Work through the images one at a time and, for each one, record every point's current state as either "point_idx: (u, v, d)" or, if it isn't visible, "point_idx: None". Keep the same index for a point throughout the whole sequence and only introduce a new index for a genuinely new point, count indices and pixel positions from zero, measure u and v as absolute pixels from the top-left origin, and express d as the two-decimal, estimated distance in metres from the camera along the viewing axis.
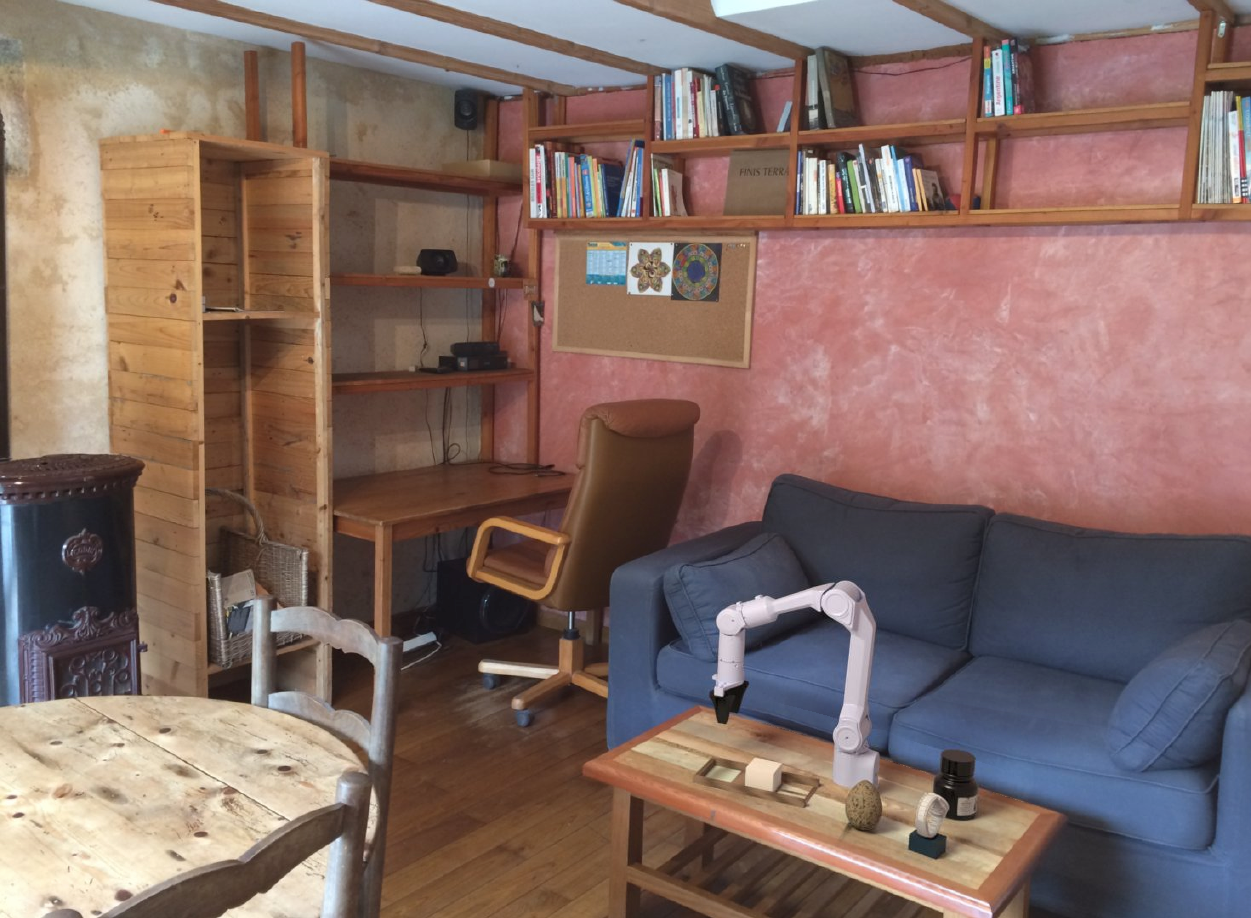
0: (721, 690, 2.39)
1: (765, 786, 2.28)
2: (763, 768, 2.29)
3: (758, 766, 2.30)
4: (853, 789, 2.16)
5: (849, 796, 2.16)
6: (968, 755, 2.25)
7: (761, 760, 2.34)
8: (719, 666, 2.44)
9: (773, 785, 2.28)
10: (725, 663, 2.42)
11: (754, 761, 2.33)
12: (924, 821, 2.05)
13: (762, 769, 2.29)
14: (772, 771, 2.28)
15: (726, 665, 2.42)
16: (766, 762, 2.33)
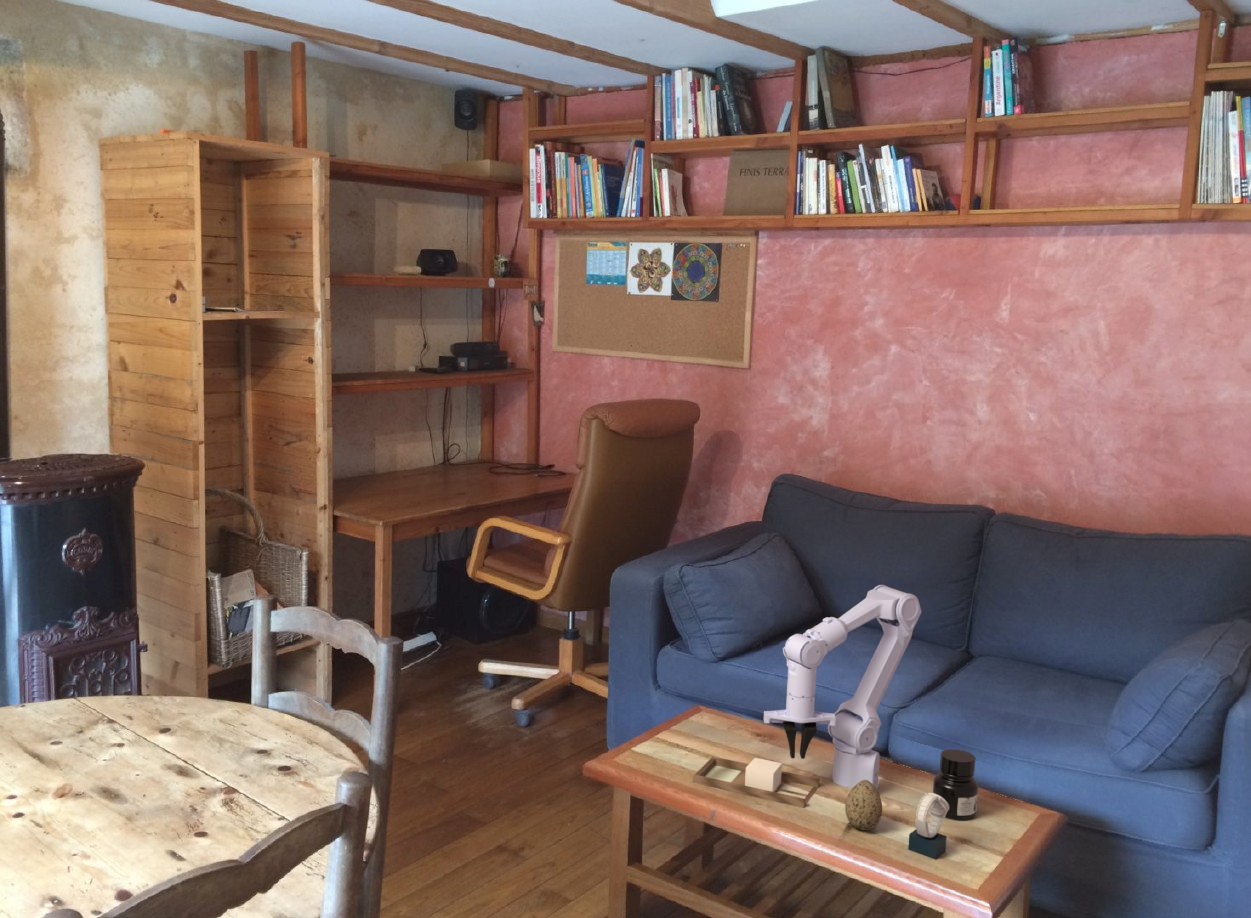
0: (764, 716, 2.26)
1: (765, 786, 2.28)
2: (763, 768, 2.29)
3: (758, 766, 2.30)
4: (853, 789, 2.16)
5: (849, 796, 2.16)
6: (968, 755, 2.25)
7: (761, 760, 2.34)
8: None
9: (773, 785, 2.28)
10: None
11: (754, 761, 2.33)
12: (924, 821, 2.05)
13: (762, 769, 2.29)
14: (772, 771, 2.28)
15: (787, 695, 2.26)
16: (766, 762, 2.33)
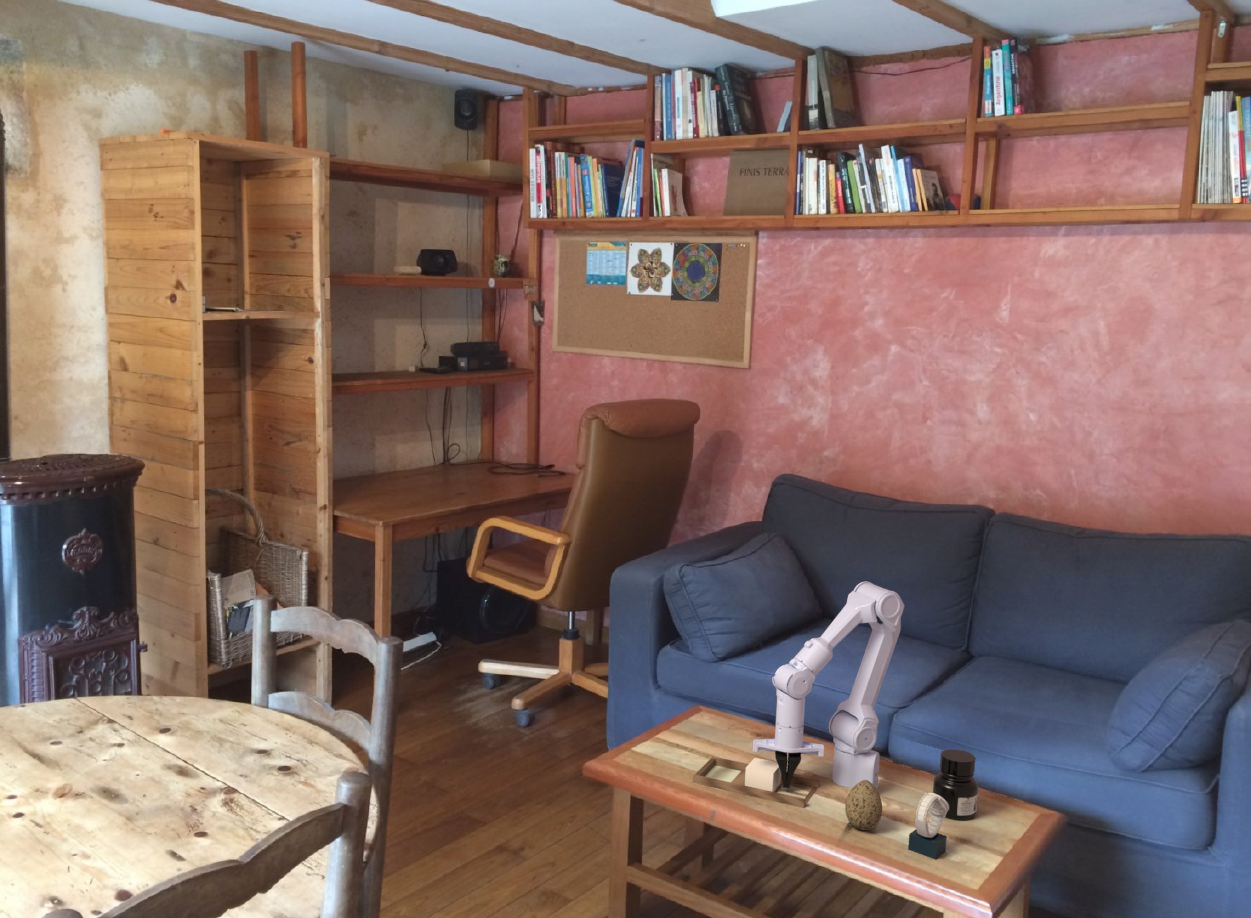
0: (753, 744, 2.28)
1: (765, 786, 2.28)
2: (763, 768, 2.29)
3: (758, 766, 2.30)
4: (853, 789, 2.16)
5: (849, 796, 2.16)
6: (968, 755, 2.25)
7: (761, 760, 2.34)
8: None
9: (773, 785, 2.28)
10: None
11: (754, 761, 2.33)
12: (924, 821, 2.05)
13: (762, 769, 2.29)
14: (772, 771, 2.28)
15: None
16: (766, 762, 2.33)
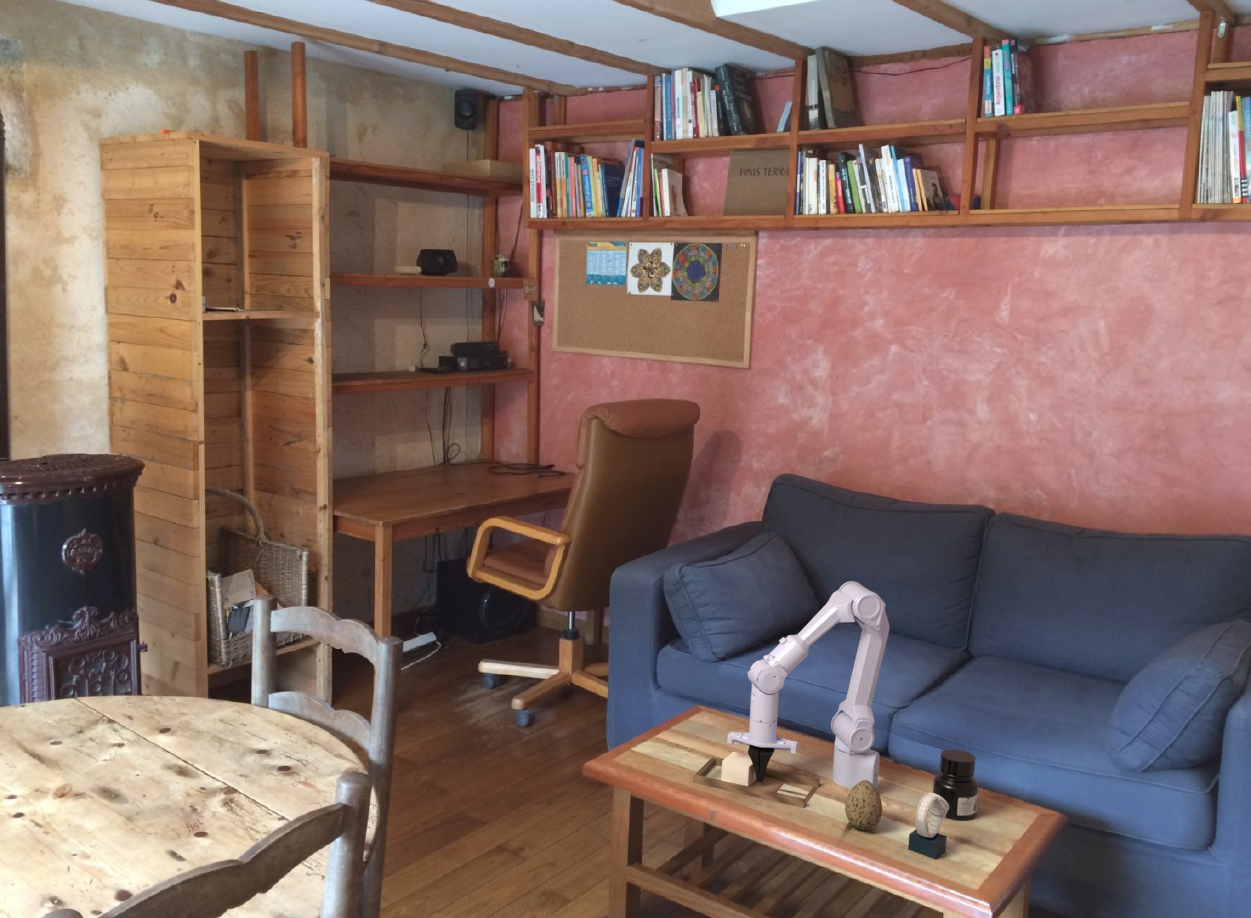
0: None
1: (741, 779, 2.31)
2: (739, 762, 2.32)
3: (734, 760, 2.33)
4: (853, 789, 2.16)
5: (849, 796, 2.16)
6: (968, 755, 2.25)
7: (739, 754, 2.36)
8: None
9: (749, 779, 2.31)
10: None
11: (731, 755, 2.36)
12: (924, 821, 2.05)
13: (738, 763, 2.32)
14: (747, 765, 2.31)
15: None
16: (743, 756, 2.35)
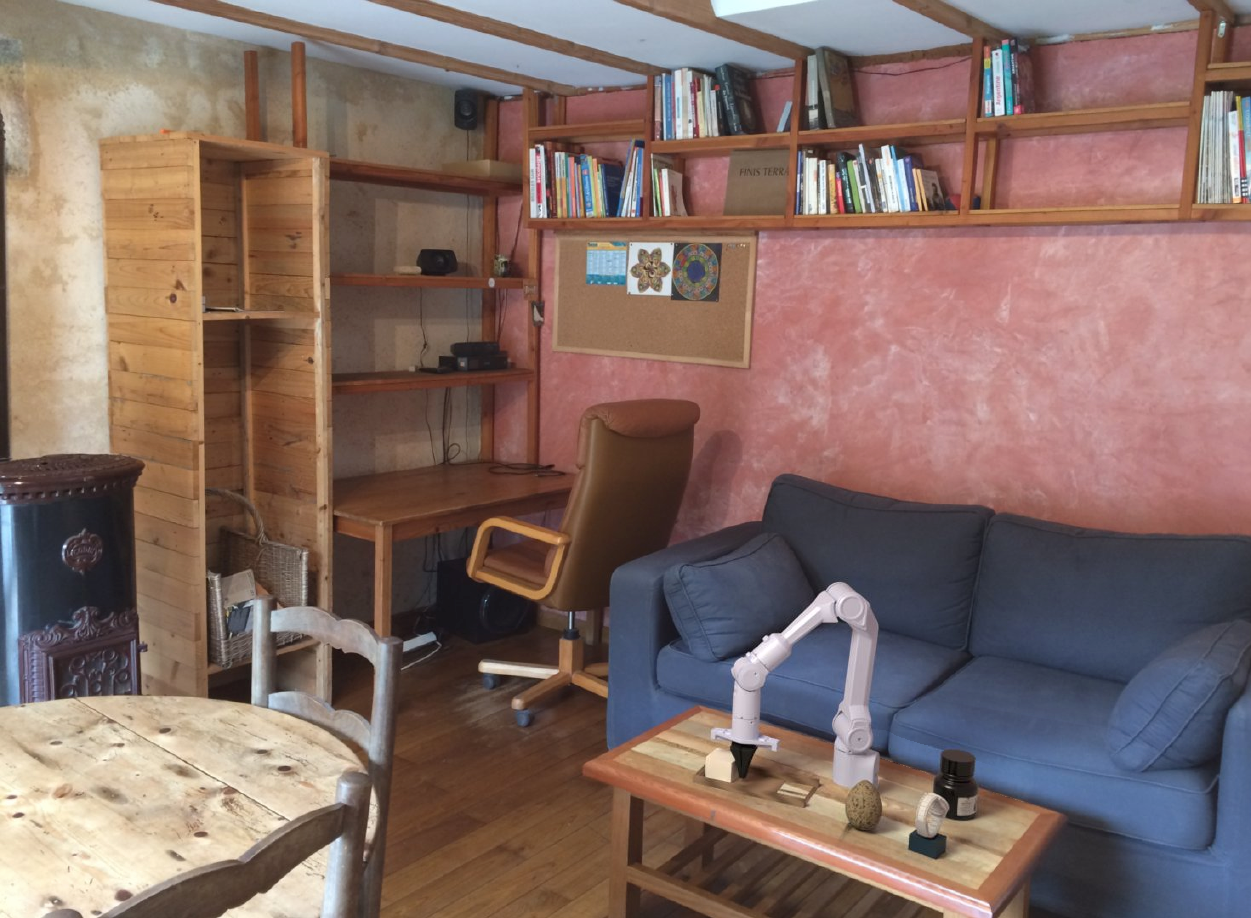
0: None
1: (724, 775, 2.33)
2: (723, 758, 2.34)
3: (718, 756, 2.35)
4: (853, 789, 2.16)
5: (849, 796, 2.16)
6: (968, 755, 2.25)
7: (723, 750, 2.38)
8: None
9: (732, 774, 2.33)
10: None
11: (716, 750, 2.38)
12: (924, 821, 2.05)
13: (721, 759, 2.34)
14: (731, 761, 2.33)
15: None
16: (727, 752, 2.37)
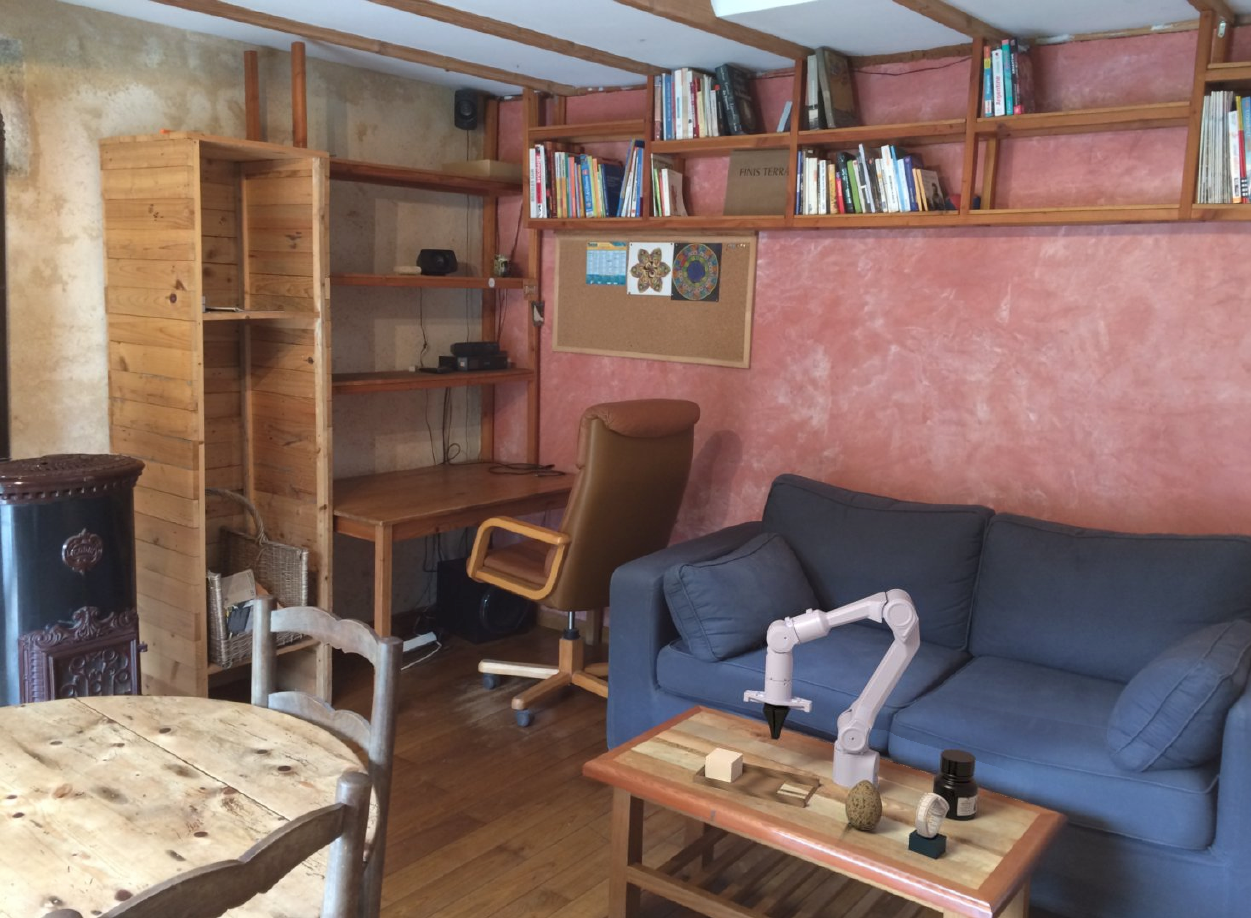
0: None
1: (724, 775, 2.33)
2: (723, 758, 2.34)
3: (718, 756, 2.35)
4: (853, 789, 2.16)
5: (849, 796, 2.16)
6: (968, 755, 2.25)
7: (723, 750, 2.38)
8: None
9: (732, 774, 2.33)
10: None
11: (716, 750, 2.38)
12: (924, 821, 2.05)
13: (721, 759, 2.34)
14: (731, 761, 2.33)
15: None
16: (727, 752, 2.37)
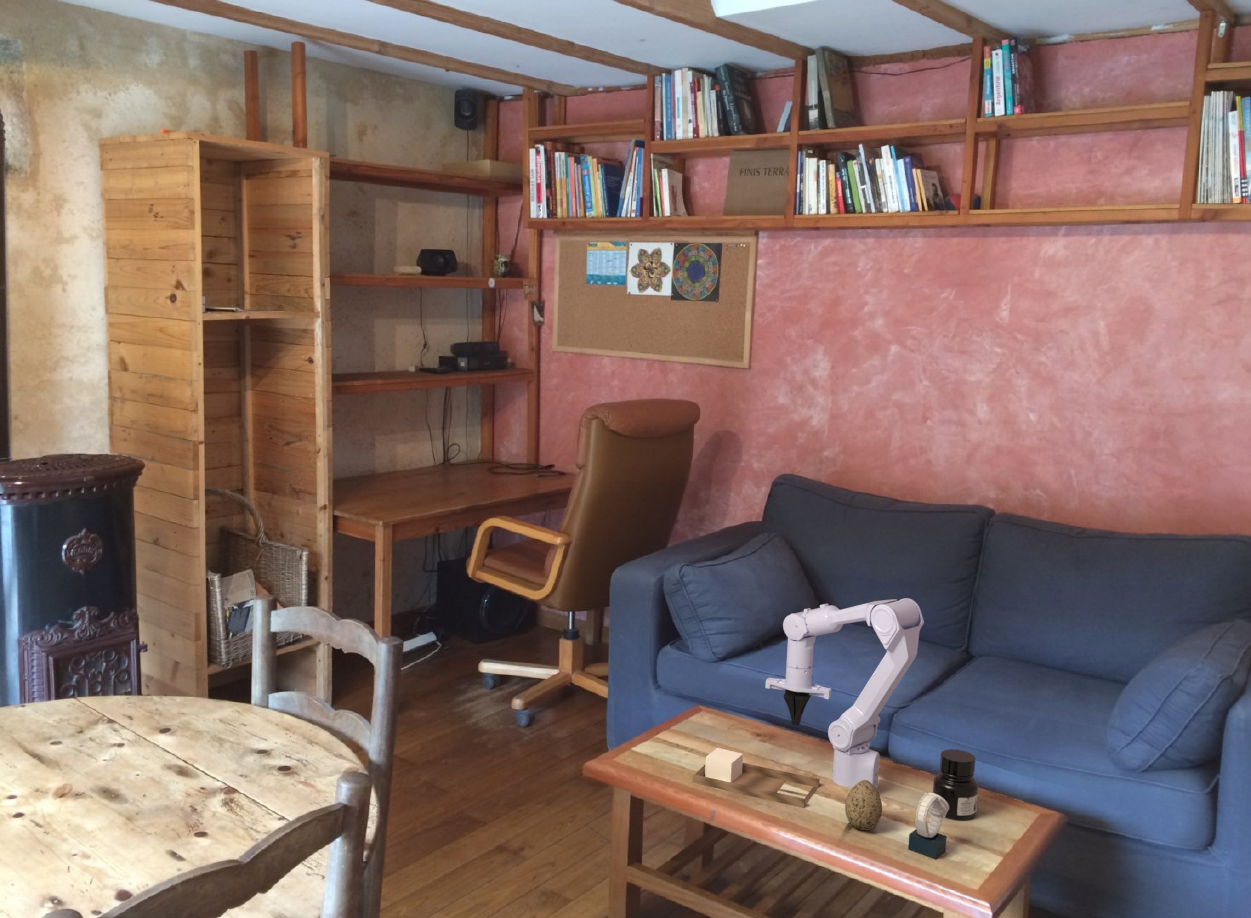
0: None
1: (724, 775, 2.33)
2: (723, 758, 2.34)
3: (718, 756, 2.35)
4: (853, 789, 2.16)
5: (849, 796, 2.16)
6: (968, 755, 2.25)
7: (723, 750, 2.38)
8: None
9: (732, 774, 2.33)
10: None
11: (716, 750, 2.38)
12: (924, 821, 2.05)
13: (721, 759, 2.34)
14: (731, 761, 2.33)
15: None
16: (727, 752, 2.37)
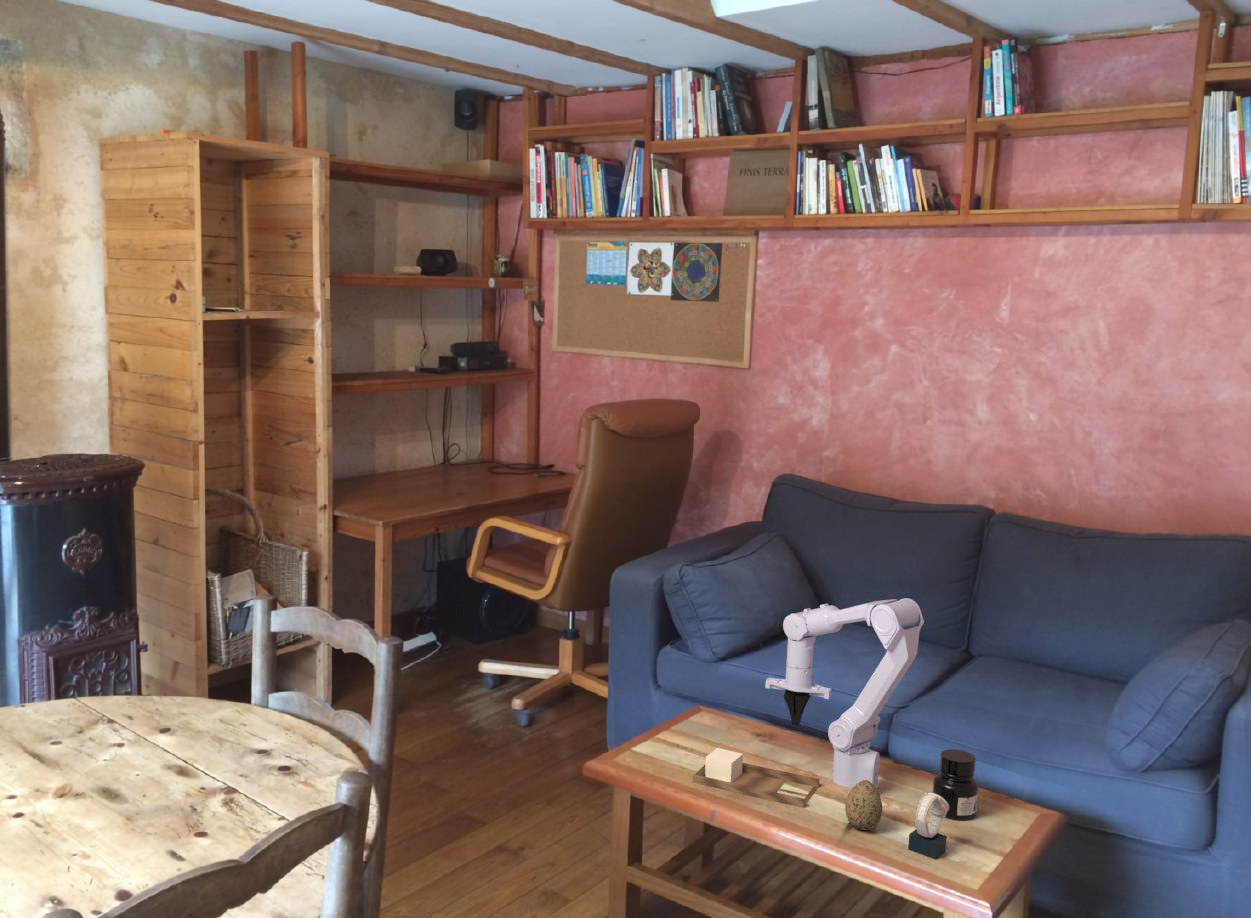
0: None
1: (724, 775, 2.33)
2: (723, 758, 2.34)
3: (718, 756, 2.35)
4: (853, 789, 2.16)
5: (849, 796, 2.16)
6: (968, 755, 2.25)
7: (723, 750, 2.38)
8: None
9: (732, 774, 2.33)
10: None
11: (716, 750, 2.38)
12: (924, 821, 2.05)
13: (721, 759, 2.34)
14: (731, 761, 2.33)
15: None
16: (727, 752, 2.37)
